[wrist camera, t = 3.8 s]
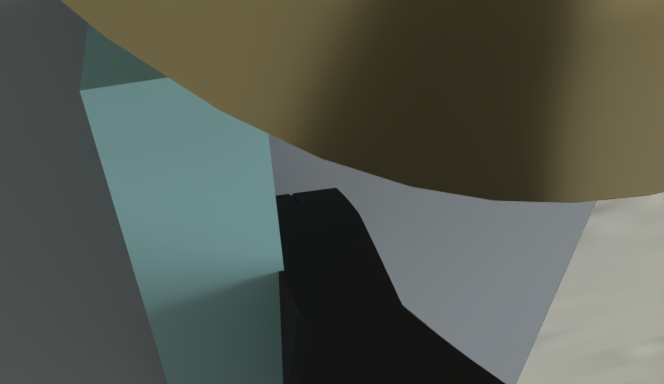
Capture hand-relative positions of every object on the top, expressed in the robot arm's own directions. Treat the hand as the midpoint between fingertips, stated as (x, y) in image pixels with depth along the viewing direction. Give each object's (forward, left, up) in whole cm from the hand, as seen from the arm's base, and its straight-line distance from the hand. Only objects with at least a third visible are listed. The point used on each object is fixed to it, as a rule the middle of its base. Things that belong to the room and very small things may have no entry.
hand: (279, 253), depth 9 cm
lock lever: (+1, +1, -1) cm, 1 cm away
